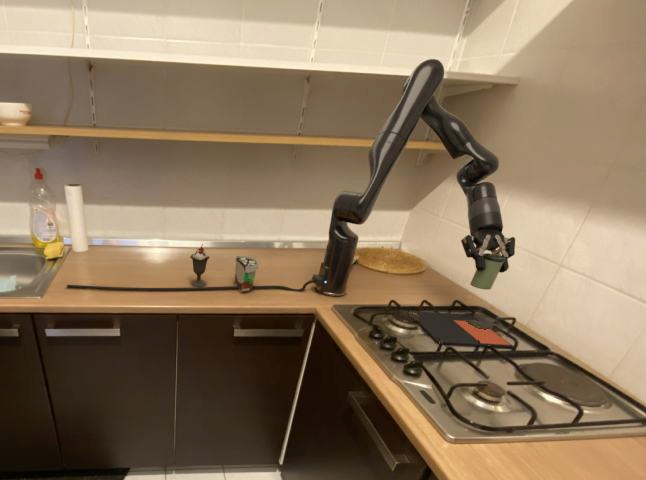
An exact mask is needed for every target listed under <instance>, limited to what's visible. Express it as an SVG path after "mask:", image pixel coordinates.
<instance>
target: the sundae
mask: <svg viewBox="0 0 646 480" xmlns="http://www.w3.org/2000/svg"><path fill="white" fill-rule="evenodd" d="M203 245H204V244H203V243H201V246H200V247H199V248H198V249H197V250H196V251H195V252H194V253H193V254H191V255H190V257H189V258H190V259H191V260H192V269H193V272H194V274H195V275H196V281H195V280H194V281H192V282H191V285H192V287H193V286H194V287H206V283H205V282H204V281H202V277H201V276H202V275H203V274H204V273H205V272H206V269H207V263H208V260H209V259H211V258H210V256H209V254H207V252H206V249H205V248H204V246H203ZM202 246H203V247H202Z"/></svg>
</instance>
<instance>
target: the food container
mask: <svg viewBox="0 0 646 480" xmlns="http://www.w3.org/2000/svg"><path fill="white" fill-rule="evenodd" d="M234 270H235V271H234V283H233V284H234V286H239V287H240V289H238V290H239V292H240V293H241V294H248V293H250V292H252V290H253V289H252V287H253V286H254V281H255V277H256V272H257V271H258V270H259V263H258V261H257V259H256V258H253V257H250V256H246V255H236V256H235V269H234Z"/></svg>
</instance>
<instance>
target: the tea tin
mask: <svg viewBox="0 0 646 480" xmlns="http://www.w3.org/2000/svg"><path fill="white" fill-rule="evenodd" d="M482 257H484V258H485V265H486V269H485V270H483V271H481V272H480V271H478V270H477V269H475V272H474V274H473V276H472V279H471V280H470V283H469V284H470V286H471V287H474V288H475V289H479V290H484V291H485V290H486V291H487V290H492V288H493V285H494V283H495V281H496V279H497V277H498V275H499V273H500V272H499V271H500V269H501V267H502V265H503V263H504V261H505V259H506V258H505V257H503V256H502V255H501V256H500V255H496V254H492V253H489V252H488V253H486V252H484V254H483V256H482Z"/></svg>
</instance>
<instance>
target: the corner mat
mask: <svg viewBox="0 0 646 480" xmlns="http://www.w3.org/2000/svg"><path fill="white" fill-rule="evenodd" d="M411 311H412V313H413V311H414V310H411ZM417 311H418V310H417ZM417 311H416V310H415V312H414V313H417V314H418V315H419V319H420V324H421V325H420V326H419V328H421V329H422V330H423V331H424V332H425V333H426V334H427V335H428V336H429V338H431V340H433V341H434V342H435V343H436V344H437V345H440V344H439V340H438V338H437V337H439V338H440V339H441V340H442V342H443V343H442V346H443V345H444V346H460V347H473V348H474V347H476V348H487V347H486V346H488V345H490V346H491V347H492V348H493V349H509V350H511V349H512V350H513V349H514V347H515V346H514V345H513V344H511V343H510V342H509V341H508V340H506V339H505V338H504V337H502V336H501V335H500V334H498V333H497V332H495V331H494V330H492V329H491V328H490V329H486V330H484V329H478V328H475V327H474V326H472V325H470V324H468V322H466V321H468V320H476V321H480V320H479V319H478V318H477V317H476V316H474V315H473V314H470V313H469V314H467V313H454V312H453V313H451V312H435V311H418V312H417ZM478 340H479V341H480V346H479V347H477V344H478ZM491 347H490V348H491ZM492 348H491V349H492Z"/></svg>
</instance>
